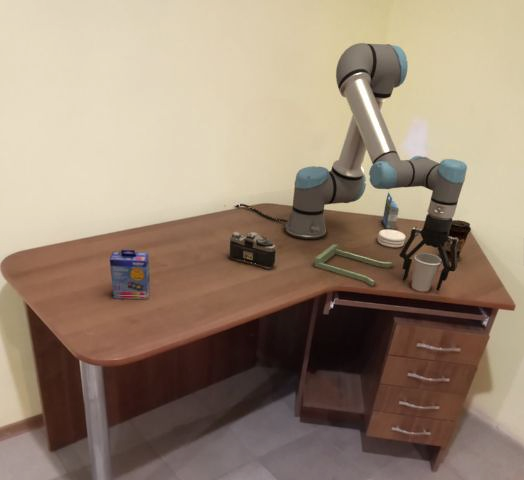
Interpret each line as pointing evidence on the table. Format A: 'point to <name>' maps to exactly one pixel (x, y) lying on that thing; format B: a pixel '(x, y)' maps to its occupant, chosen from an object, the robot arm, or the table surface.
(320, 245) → the table surface
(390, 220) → the label tape box
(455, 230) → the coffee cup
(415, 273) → the dixie cup
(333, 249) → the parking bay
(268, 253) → the camera
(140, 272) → the ink cartridge box
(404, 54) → the robot arm
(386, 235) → the coaster
